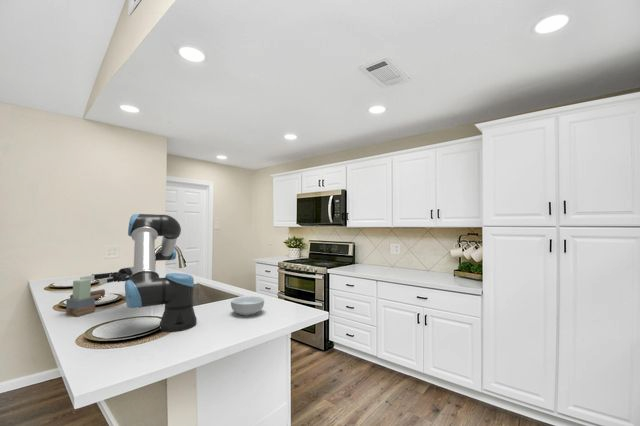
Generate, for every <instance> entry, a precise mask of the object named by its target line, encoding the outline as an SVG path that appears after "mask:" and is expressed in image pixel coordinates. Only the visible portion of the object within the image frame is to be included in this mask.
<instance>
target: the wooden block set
mask: <svg viewBox="0 0 640 426" xmlns="http://www.w3.org/2000/svg"><path fill="white" fill-rule="evenodd" d="M104 295H106V290H105V289H104V288H103V289H102V288H101V289H98V290H93V291H92V290H90V296H91V297H95V299H99V298H101V296H104ZM69 297H70V298H69V299H71V298H73V294H70V296H69ZM104 297H105V296H104ZM101 299H102V298H101Z"/></svg>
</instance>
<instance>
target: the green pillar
mask: <svg viewBox="0 0 640 426" xmlns="http://www.w3.org/2000/svg"><path fill="white" fill-rule="evenodd" d="M80 279H81V278H80ZM80 279H77V280H73V282H72V295H73V299H76V300H81V299H86V298H90V292H91V291H92V290H91V288H92V287H91V286H92V285H91V284H92V281H91V280H89V279H81V280H80Z"/></svg>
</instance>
